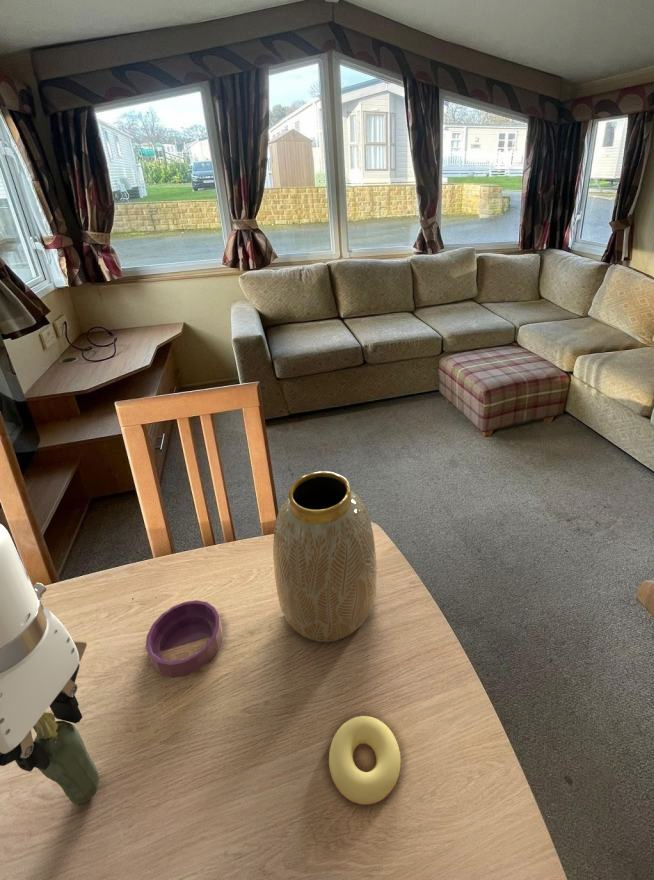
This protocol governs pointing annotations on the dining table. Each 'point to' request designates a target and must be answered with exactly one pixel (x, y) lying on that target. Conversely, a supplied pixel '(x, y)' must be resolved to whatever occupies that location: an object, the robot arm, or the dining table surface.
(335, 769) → the donut
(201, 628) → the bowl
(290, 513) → the vase
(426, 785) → the dining table surface
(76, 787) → the vegetable
